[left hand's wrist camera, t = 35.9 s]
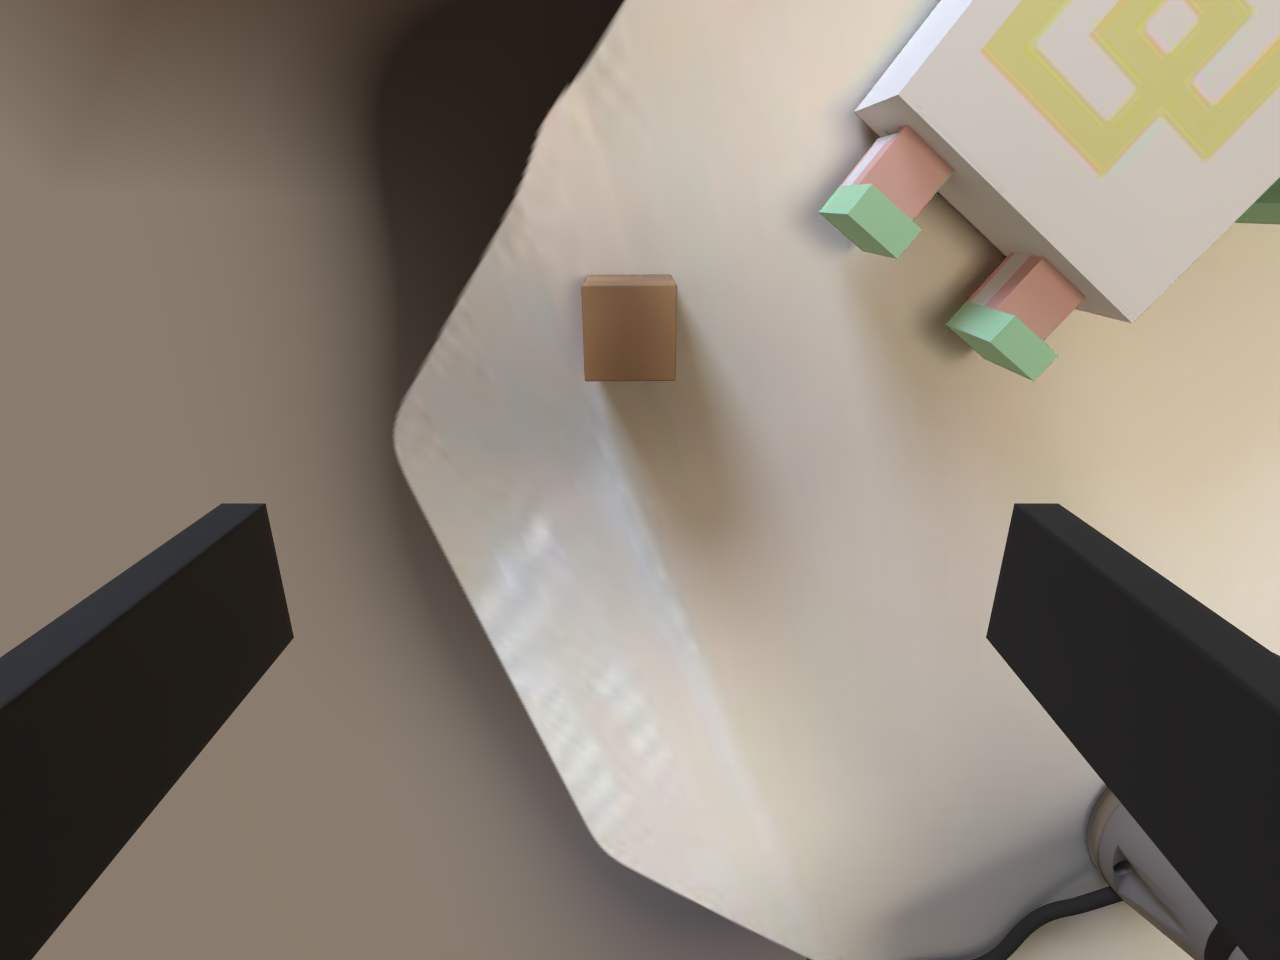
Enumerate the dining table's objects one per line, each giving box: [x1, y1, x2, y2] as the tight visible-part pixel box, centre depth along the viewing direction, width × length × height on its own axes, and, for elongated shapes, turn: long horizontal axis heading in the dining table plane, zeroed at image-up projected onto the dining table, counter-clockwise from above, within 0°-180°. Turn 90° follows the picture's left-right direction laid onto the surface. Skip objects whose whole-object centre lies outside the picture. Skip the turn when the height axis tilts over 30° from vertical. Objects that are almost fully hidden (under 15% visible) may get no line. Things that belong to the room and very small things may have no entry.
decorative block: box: [819, 0, 1280, 381], centre depth 28 cm, size 26×6×20 cm
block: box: [582, 275, 677, 381], centre depth 33 cm, size 4×4×5 cm
